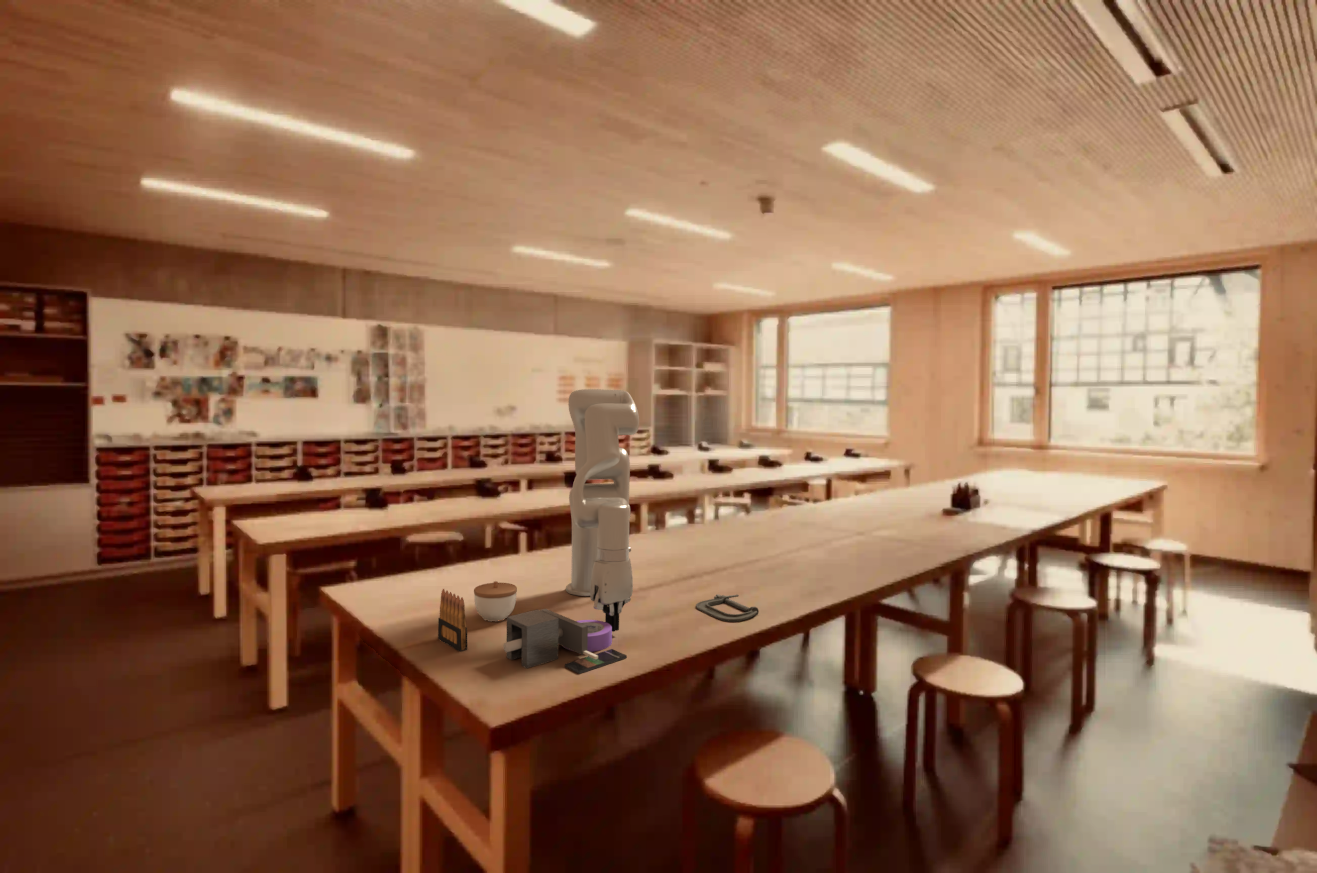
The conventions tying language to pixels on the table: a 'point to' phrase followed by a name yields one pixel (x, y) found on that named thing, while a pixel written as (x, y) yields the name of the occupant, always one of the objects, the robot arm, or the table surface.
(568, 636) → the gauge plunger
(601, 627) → the masking tape
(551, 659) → the grey slide fixture
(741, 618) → the c clamp
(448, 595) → the ammunition clip
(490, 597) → the lidded jar
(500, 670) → the table surface
